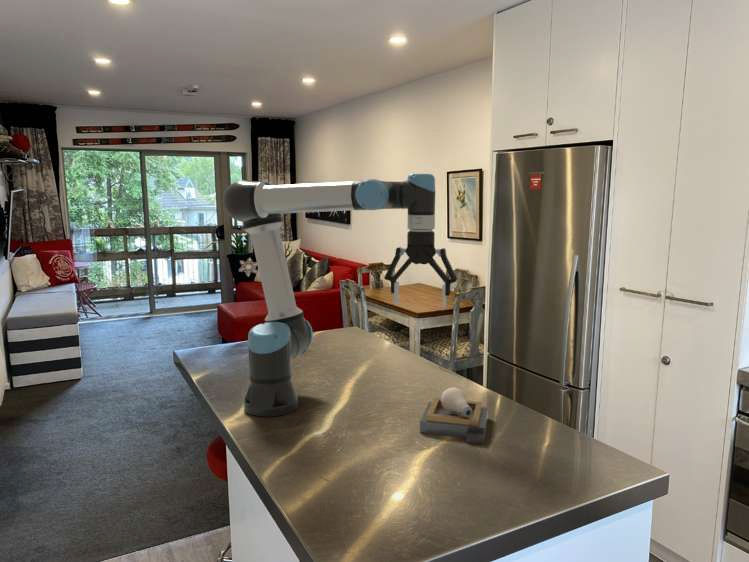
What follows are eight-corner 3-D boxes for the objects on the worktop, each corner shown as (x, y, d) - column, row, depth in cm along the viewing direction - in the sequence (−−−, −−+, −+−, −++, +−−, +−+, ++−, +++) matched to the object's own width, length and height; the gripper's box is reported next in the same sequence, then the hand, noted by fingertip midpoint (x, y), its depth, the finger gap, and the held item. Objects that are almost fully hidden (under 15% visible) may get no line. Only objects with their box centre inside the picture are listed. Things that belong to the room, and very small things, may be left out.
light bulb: (479, 397, 138) (457, 380, 148) (456, 404, 136) (435, 386, 145) (480, 421, 140) (458, 402, 149) (457, 428, 137) (437, 409, 147)
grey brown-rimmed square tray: (417, 437, 137) (417, 419, 137) (431, 407, 158) (431, 391, 157) (482, 444, 133) (483, 426, 133) (488, 412, 153) (489, 397, 153)
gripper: (374, 230, 153) (374, 306, 156) (464, 231, 146) (463, 310, 149) (380, 229, 160) (380, 301, 163) (467, 230, 154) (465, 305, 157)
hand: (420, 306), depth 156 cm, fingers open, 13 cm apart
